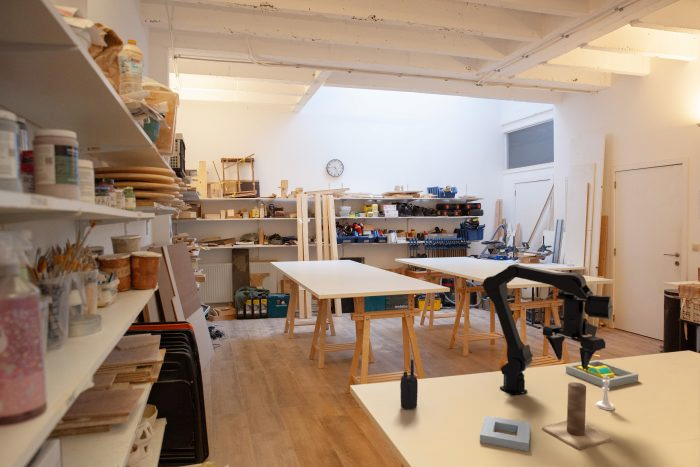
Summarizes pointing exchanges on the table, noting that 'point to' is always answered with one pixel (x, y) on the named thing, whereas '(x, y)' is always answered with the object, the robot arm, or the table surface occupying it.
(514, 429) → the holder block
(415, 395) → the two-way radio
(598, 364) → the tray
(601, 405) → the chess piece
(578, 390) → the walnut dowel
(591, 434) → the wooden coaster
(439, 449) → the table surface
